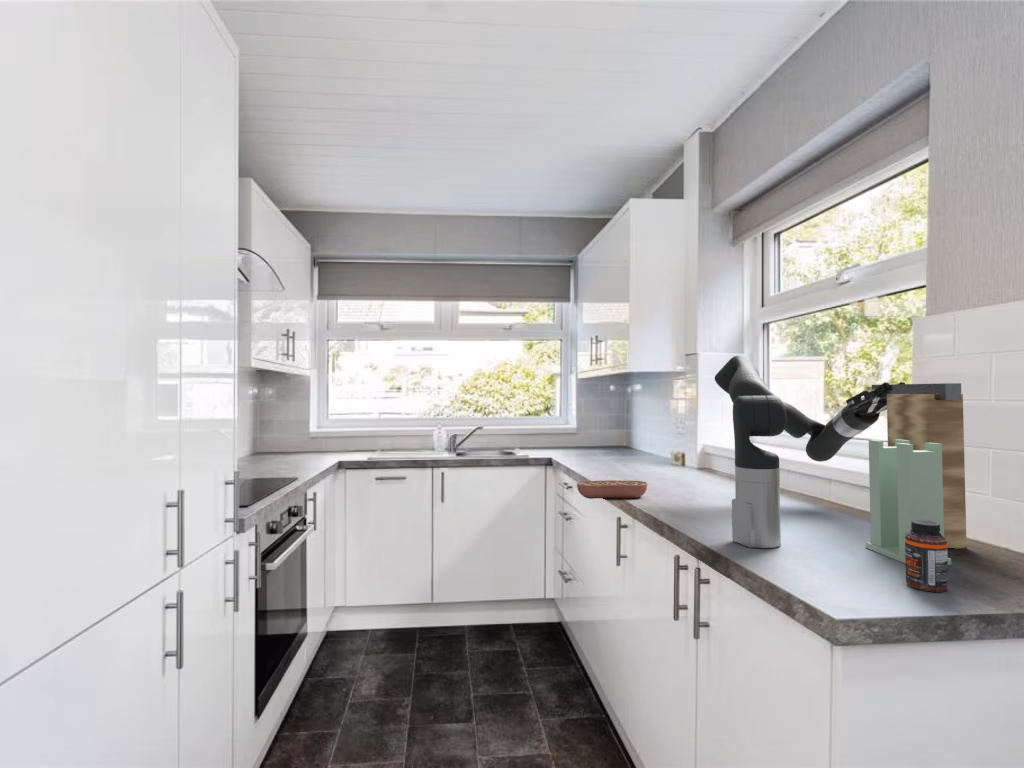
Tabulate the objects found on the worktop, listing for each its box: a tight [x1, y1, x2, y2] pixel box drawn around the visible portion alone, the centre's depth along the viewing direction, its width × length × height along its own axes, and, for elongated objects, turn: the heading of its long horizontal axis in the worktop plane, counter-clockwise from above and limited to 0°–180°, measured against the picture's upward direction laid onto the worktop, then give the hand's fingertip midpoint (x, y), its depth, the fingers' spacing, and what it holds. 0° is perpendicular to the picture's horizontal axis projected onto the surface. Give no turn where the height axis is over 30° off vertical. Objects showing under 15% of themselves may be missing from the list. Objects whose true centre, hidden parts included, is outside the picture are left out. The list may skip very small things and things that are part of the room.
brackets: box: [864, 439, 952, 566], centre depth 115 cm, size 13×8×24 cm, turn 4°
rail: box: [871, 382, 962, 400], centre depth 129 cm, size 22×4×4 cm, turn 4°
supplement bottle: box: [904, 520, 949, 593], centre depth 97 cm, size 6×6×11 cm
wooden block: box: [886, 393, 968, 550], centre depth 126 cm, size 12×8×33 cm, turn 4°
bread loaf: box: [576, 479, 648, 500], centre depth 182 cm, size 23×10×5 cm, turn 90°
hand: (896, 385), depth 134 cm, fingers closed on rail, 3 cm apart
